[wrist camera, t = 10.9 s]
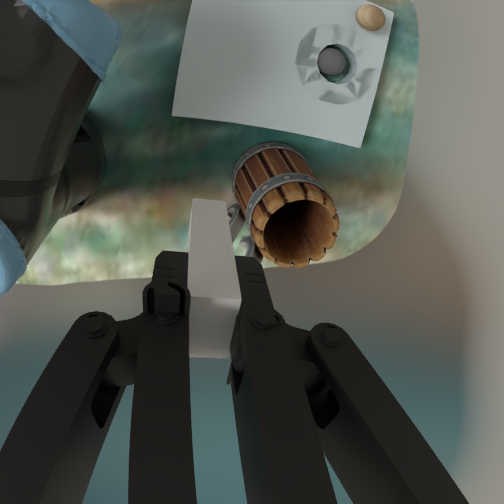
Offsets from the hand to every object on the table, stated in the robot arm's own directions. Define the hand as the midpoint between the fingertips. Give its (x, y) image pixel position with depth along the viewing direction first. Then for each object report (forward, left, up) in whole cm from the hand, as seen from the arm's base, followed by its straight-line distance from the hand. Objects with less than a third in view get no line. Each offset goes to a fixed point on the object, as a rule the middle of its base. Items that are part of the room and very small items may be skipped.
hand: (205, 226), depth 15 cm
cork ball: (+16, +18, -22) cm, 33 cm away
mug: (+8, -8, -27) cm, 29 cm away
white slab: (+8, +11, -26) cm, 30 cm away
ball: (+13, +11, -25) cm, 30 cm away
